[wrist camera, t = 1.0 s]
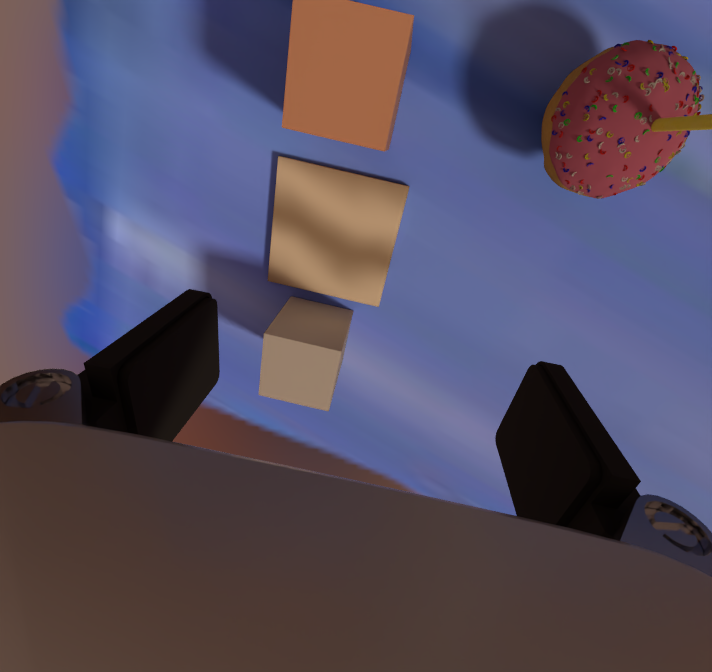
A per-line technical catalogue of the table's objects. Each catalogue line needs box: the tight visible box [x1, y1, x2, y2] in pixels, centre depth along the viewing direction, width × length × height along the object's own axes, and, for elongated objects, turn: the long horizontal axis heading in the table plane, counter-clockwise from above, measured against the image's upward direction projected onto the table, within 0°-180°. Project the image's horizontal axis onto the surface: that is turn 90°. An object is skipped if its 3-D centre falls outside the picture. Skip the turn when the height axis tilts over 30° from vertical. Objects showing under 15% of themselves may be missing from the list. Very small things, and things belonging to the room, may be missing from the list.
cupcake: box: [541, 40, 712, 199], centre depth 21 cm, size 9×8×12 cm
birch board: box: [268, 156, 409, 307], centre depth 32 cm, size 11×11×1 cm
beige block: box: [259, 296, 353, 411], centre depth 34 cm, size 6×6×8 cm
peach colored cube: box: [282, 0, 414, 151], centre depth 24 cm, size 6×6×8 cm
